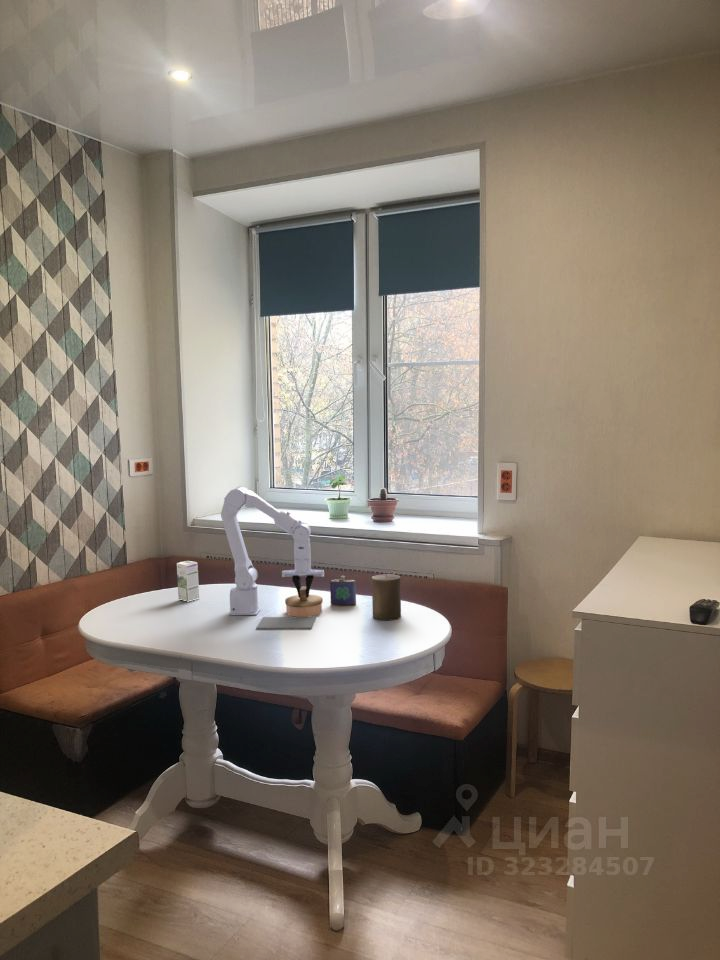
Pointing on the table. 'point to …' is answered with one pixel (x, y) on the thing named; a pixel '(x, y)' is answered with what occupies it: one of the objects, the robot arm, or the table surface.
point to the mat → (286, 623)
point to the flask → (343, 592)
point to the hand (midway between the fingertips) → (303, 596)
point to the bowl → (304, 610)
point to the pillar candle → (386, 596)
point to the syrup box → (188, 580)
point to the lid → (303, 599)
